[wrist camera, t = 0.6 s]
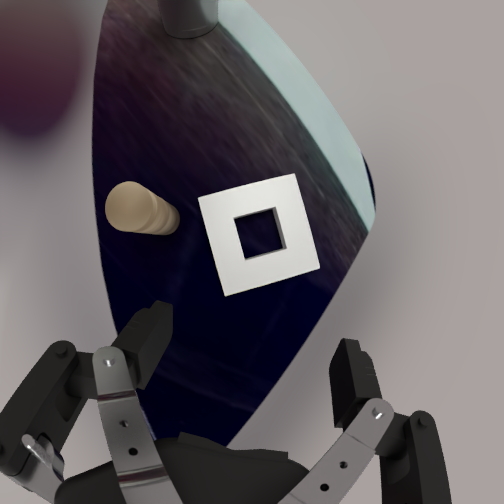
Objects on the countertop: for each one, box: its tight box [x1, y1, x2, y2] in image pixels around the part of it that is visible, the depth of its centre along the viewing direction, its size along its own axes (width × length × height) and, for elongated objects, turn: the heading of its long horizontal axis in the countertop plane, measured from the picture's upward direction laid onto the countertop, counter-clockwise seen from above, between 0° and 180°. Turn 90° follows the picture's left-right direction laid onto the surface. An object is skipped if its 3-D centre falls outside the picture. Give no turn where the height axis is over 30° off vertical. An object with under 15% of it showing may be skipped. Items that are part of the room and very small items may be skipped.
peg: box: [105, 182, 180, 235], centre depth 27 cm, size 4×4×14 cm
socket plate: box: [198, 174, 320, 296], centre depth 34 cm, size 12×12×2 cm
